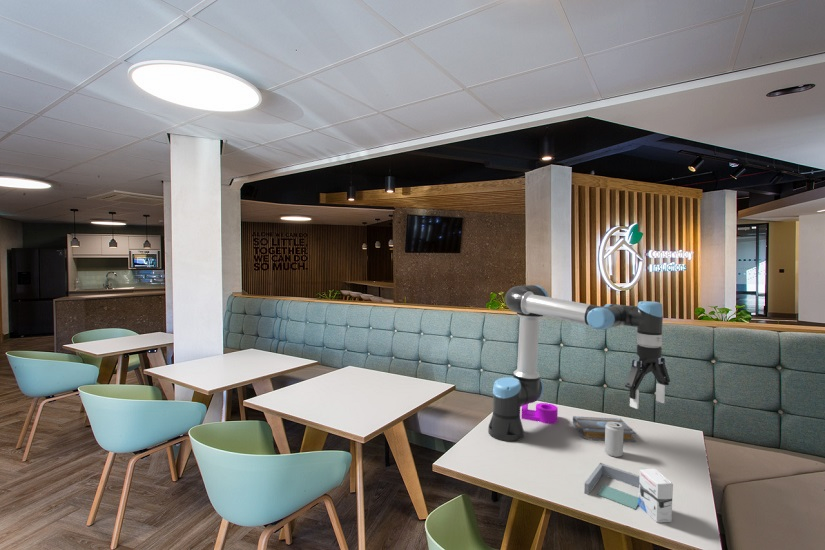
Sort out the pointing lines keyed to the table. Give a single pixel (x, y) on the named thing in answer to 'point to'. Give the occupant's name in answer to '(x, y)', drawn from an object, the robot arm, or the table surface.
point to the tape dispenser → (541, 413)
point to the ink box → (655, 495)
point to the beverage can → (614, 439)
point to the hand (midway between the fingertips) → (647, 404)
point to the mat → (619, 496)
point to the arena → (611, 473)
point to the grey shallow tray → (599, 428)
